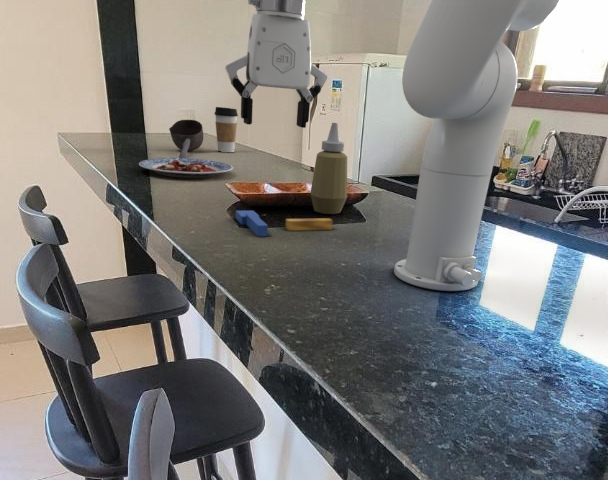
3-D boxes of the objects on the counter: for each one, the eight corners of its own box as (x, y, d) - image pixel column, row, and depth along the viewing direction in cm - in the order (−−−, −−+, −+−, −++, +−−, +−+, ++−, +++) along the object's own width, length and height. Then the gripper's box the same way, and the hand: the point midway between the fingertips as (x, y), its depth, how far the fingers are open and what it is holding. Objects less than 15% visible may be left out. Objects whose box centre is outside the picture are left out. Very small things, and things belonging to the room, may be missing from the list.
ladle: (205, 142, 198) (201, 114, 191) (205, 189, 170) (201, 158, 163) (173, 144, 196) (168, 116, 189) (168, 191, 169) (162, 160, 162)
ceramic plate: (217, 184, 137) (217, 172, 135) (122, 175, 140) (121, 163, 138) (243, 171, 159) (243, 160, 158) (161, 163, 162) (160, 152, 161)
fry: (328, 227, 104) (329, 218, 104) (332, 229, 103) (332, 220, 102) (285, 228, 102) (285, 218, 101) (288, 230, 100) (288, 221, 99)
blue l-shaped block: (272, 236, 96) (272, 225, 95) (253, 236, 94) (253, 225, 94) (253, 218, 107) (253, 208, 106) (235, 218, 106) (235, 208, 105)
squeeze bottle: (342, 217, 113) (352, 125, 104) (305, 213, 114) (311, 122, 106) (347, 210, 120) (356, 123, 111) (312, 206, 121) (319, 120, 113)
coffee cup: (210, 151, 194) (210, 106, 187) (220, 149, 202) (220, 106, 195) (231, 154, 192) (232, 108, 186) (241, 151, 200) (241, 108, 193)
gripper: (232, -2, 78) (230, 124, 86) (340, 13, 83) (328, 130, 91) (221, 1, 84) (220, 120, 92) (323, 15, 89) (313, 125, 98)
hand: (274, 125), depth 92 cm, fingers open, 9 cm apart
